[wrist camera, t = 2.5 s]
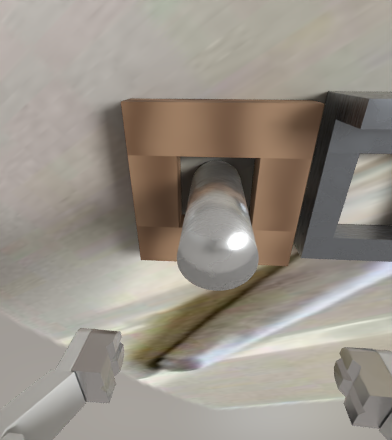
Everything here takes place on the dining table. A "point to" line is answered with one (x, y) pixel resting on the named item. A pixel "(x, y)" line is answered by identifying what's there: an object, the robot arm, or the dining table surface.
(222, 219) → the steel cylinder
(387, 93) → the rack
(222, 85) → the dining table surface
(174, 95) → the dining table surface
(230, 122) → the socket block
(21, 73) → the dining table surface
